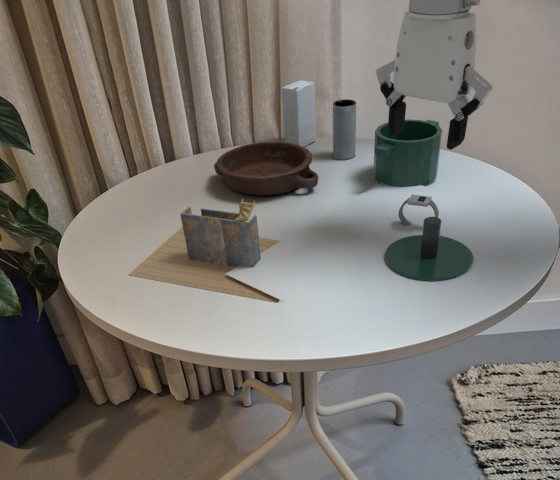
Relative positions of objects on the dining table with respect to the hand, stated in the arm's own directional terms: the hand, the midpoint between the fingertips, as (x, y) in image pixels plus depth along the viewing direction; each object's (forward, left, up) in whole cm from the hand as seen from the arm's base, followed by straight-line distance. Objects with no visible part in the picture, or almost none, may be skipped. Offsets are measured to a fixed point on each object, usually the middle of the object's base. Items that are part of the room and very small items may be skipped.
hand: (424, 139), depth 83 cm
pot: (+13, -17, -14) cm, 26 cm away
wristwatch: (0, -1, -15) cm, 15 cm away
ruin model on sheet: (+18, +25, -15) cm, 34 cm away
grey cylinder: (+29, -19, -15) cm, 37 cm away
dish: (+33, 0, -15) cm, 36 cm away
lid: (-7, +7, -14) cm, 17 cm away
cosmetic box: (+41, -19, -15) cm, 47 cm away
